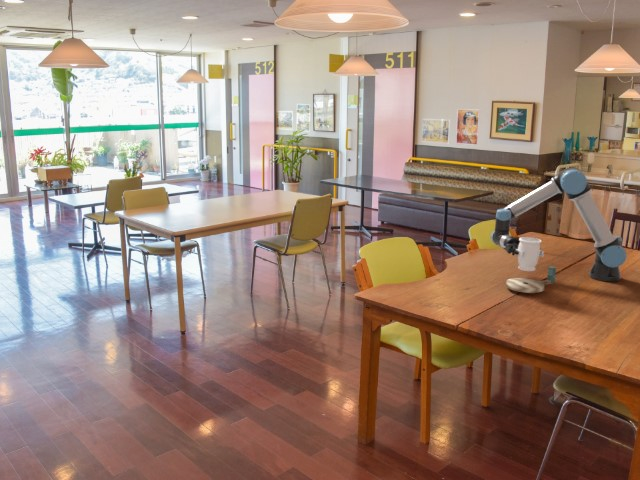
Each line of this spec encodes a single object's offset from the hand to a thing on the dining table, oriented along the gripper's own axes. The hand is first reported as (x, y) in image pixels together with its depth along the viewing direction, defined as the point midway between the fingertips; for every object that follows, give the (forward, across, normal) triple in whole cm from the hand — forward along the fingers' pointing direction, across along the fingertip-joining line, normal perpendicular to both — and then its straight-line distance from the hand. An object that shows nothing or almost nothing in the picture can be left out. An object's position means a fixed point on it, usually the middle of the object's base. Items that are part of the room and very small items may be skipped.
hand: (533, 254), depth 292 cm
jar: (-4, 0, -9) cm, 10 cm away
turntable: (-5, -5, -18) cm, 19 cm away
